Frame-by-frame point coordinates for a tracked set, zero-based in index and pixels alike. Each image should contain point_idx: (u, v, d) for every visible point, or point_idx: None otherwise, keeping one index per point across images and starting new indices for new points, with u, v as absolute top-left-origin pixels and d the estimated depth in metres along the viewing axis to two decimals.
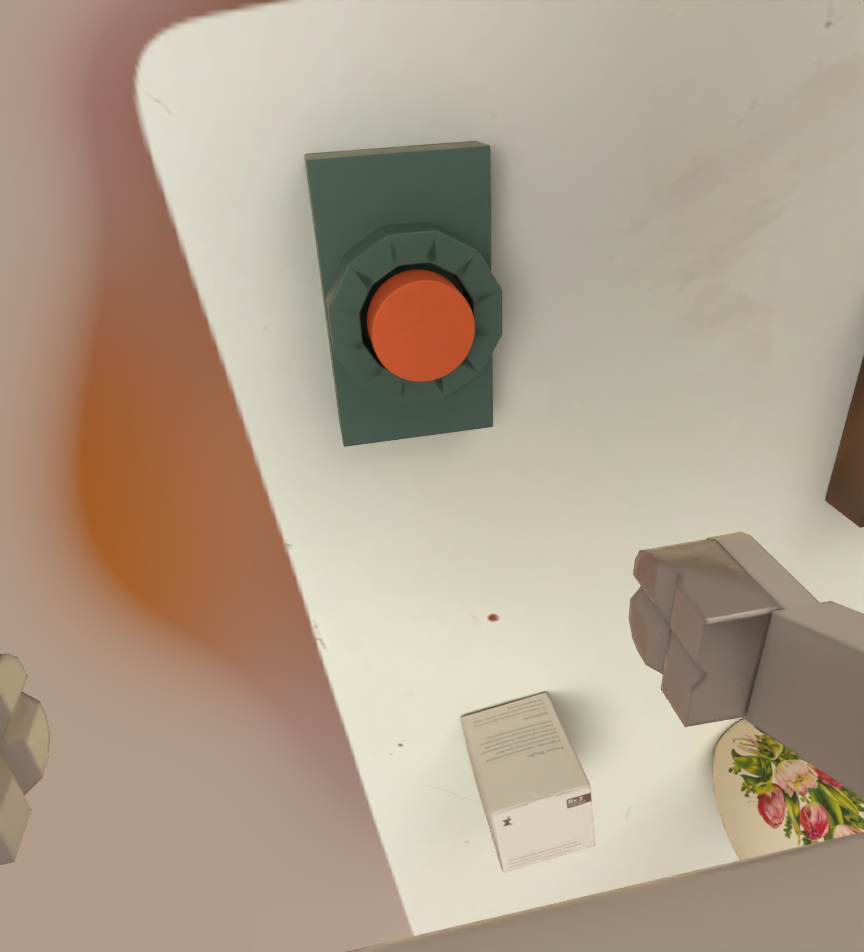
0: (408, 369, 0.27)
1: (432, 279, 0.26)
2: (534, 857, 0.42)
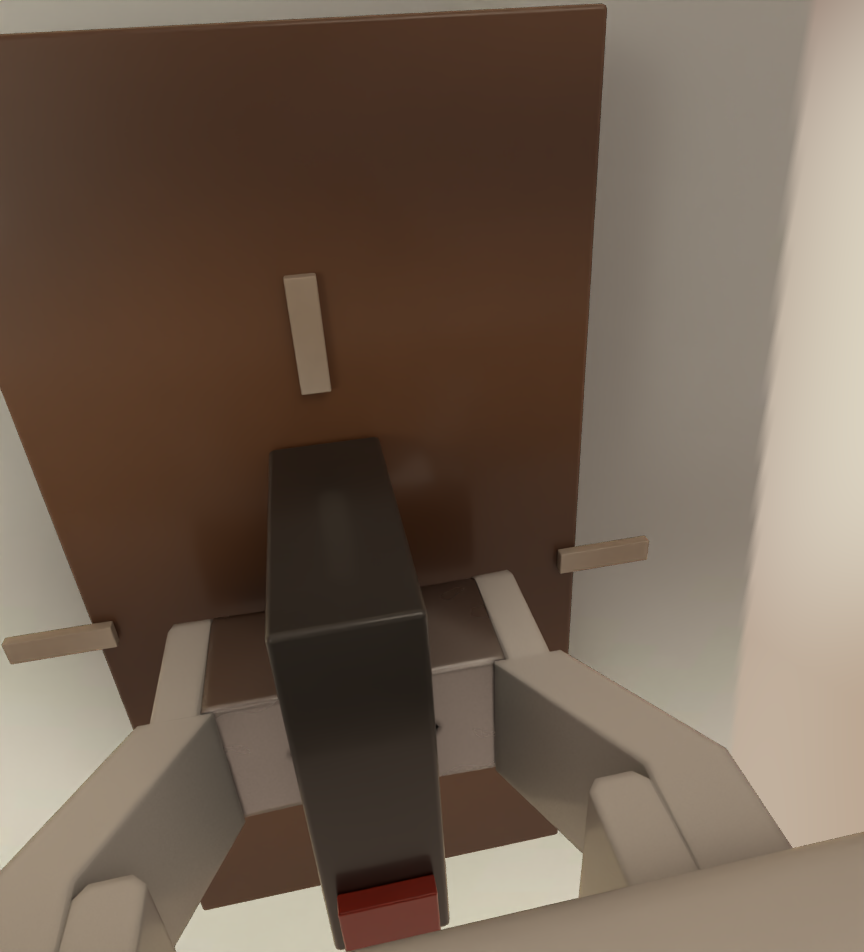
0: None
1: None
2: None
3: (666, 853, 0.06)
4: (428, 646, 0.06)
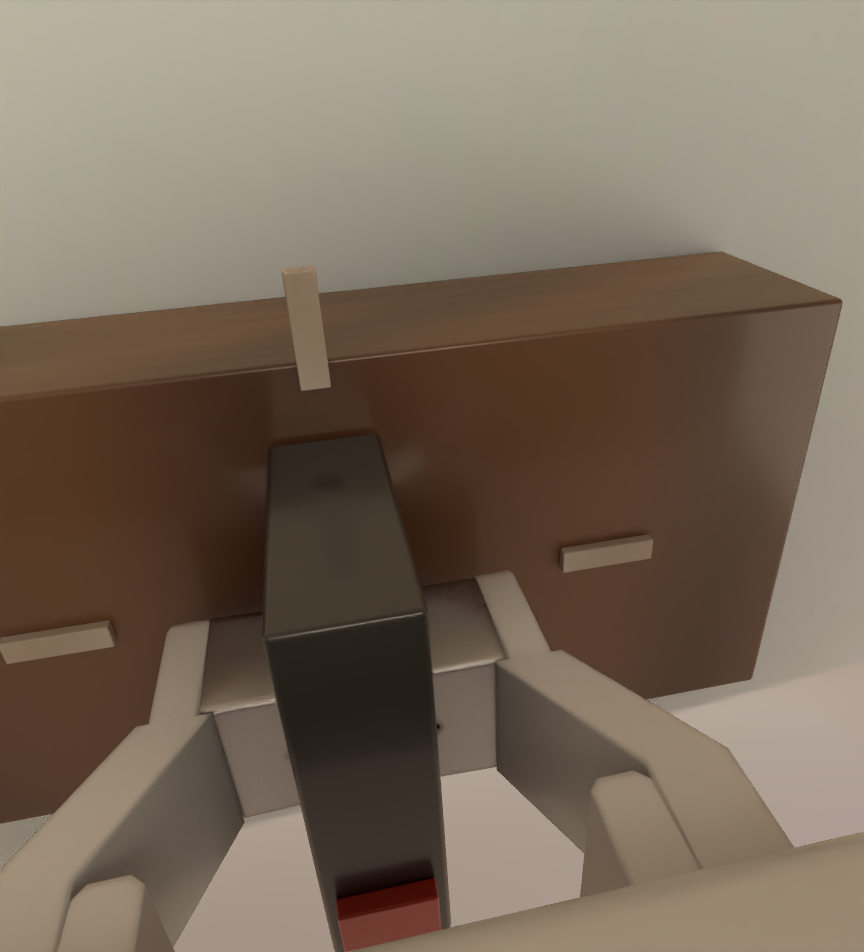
0: None
1: None
2: None
3: (668, 852, 0.06)
4: (429, 645, 0.06)
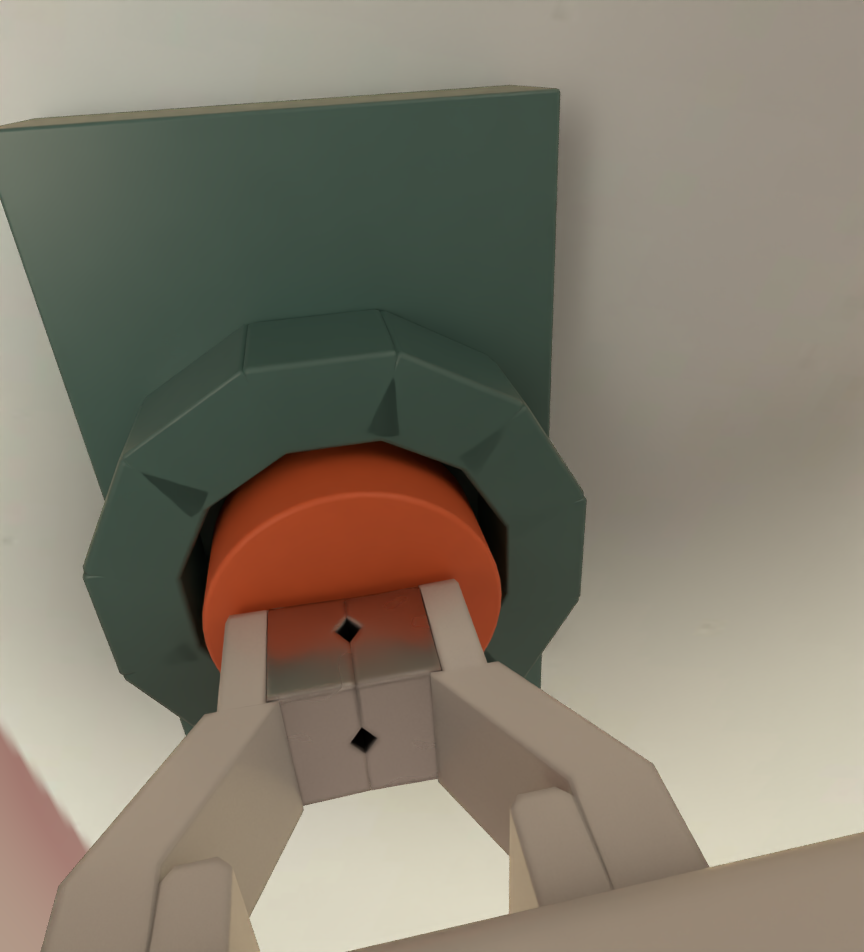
0: None
1: (377, 485, 0.09)
2: None
3: (581, 872, 0.05)
4: None
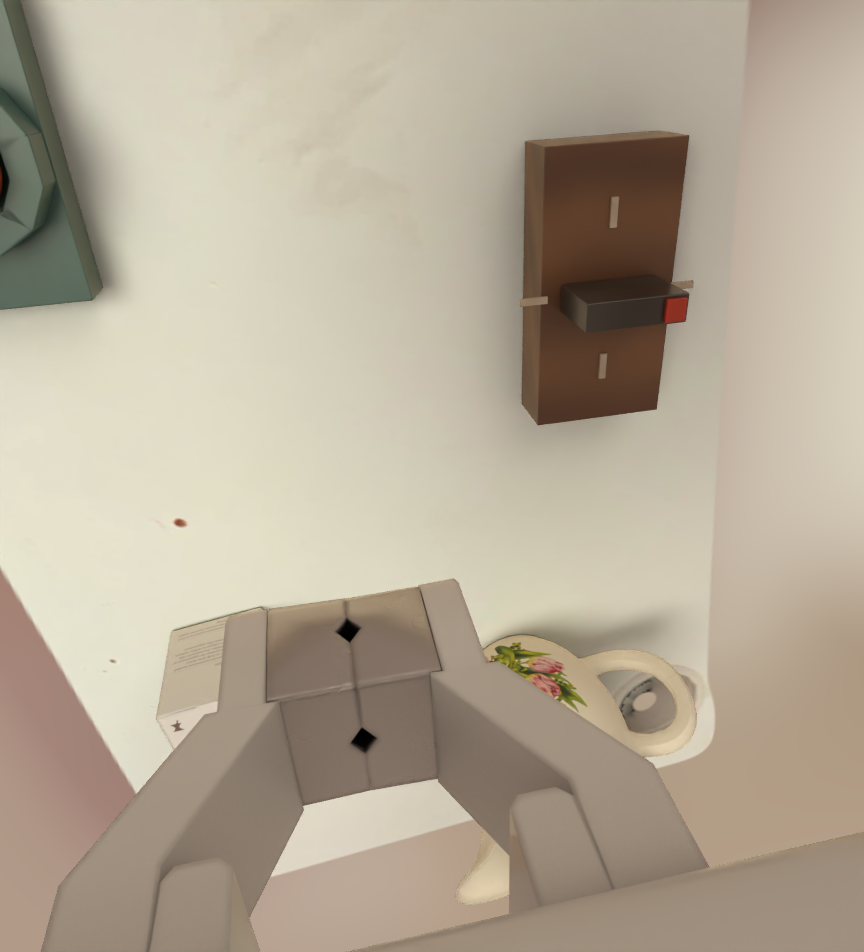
0: None
1: None
2: None
3: (581, 872, 0.05)
4: (596, 302, 0.32)
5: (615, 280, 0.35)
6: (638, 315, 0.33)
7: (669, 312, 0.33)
